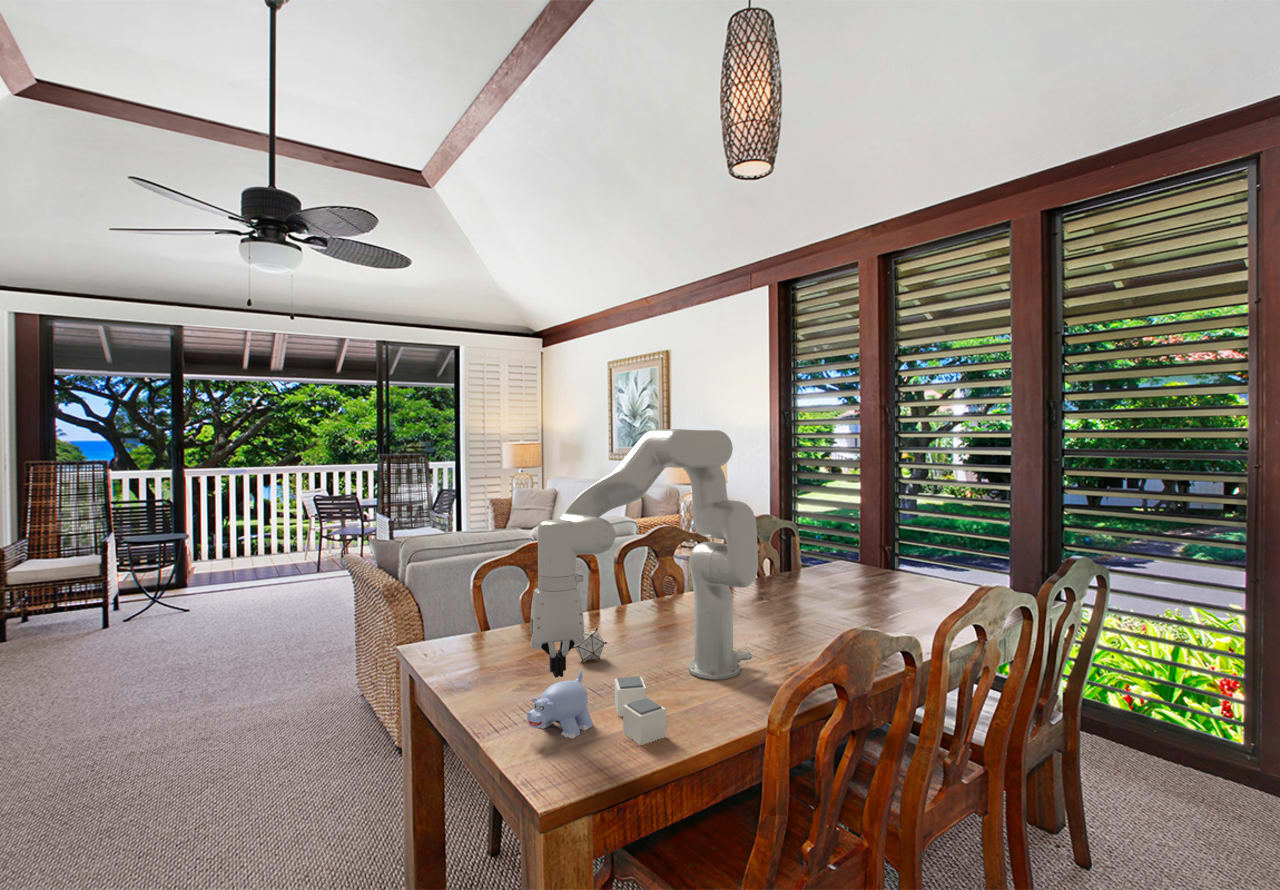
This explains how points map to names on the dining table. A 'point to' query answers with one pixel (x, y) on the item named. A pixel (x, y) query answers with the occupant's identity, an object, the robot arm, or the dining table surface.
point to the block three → (628, 691)
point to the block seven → (644, 721)
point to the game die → (590, 646)
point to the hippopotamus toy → (562, 708)
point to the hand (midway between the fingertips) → (557, 674)
